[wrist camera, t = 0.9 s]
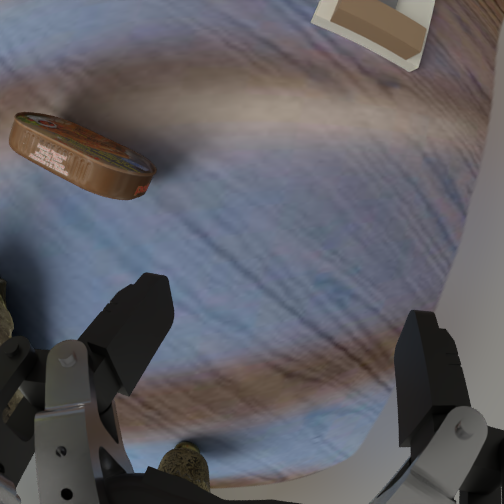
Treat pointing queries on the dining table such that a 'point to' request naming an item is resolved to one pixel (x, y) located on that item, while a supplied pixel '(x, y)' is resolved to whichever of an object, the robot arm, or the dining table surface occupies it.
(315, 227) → the dining table surface
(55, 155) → the tin
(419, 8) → the press base
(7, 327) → the hollow geode rock
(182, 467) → the textured goblet
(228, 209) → the dining table surface
